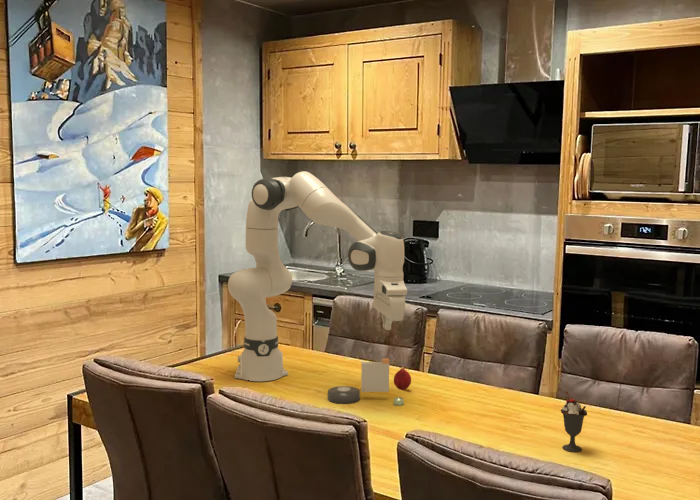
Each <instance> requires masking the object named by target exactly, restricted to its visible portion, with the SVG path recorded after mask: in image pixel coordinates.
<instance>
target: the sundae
mask: <svg viewBox="0 0 700 500" xmlns="http://www.w3.org/2000/svg"><path fill="white" fill-rule="evenodd" d="M565 394H566V395H567V397H568V398H567V399H566V400H565V404H564V405H563V407H562V408H561V409H560V412H561V414H562V417H563V424H564V425H563V426H564V431H565V432H566V433H567V434H568V436H569V437H570V439H569V443H568V444H563V446H562V449H563V450H564V451H566V452H570V453H580V452H582V451H583V448H582V447H581V446H579V445H577V444H576V437H577V436H578V435H580V434H581V432H582V429H583V423H584V418H585V416H588V411H587V410H586V407H587V406H586V405H585V406H583V407H582V404H580V402H579V401H577V400H575V399H574V398H572V396H571V394H569V391H565Z"/></svg>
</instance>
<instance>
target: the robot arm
mask: <svg viewBox="0 0 700 500" xmlns="http://www.w3.org/2000/svg"><path fill="white" fill-rule="evenodd" d="M297 208H300V210H301V211H302V212H303V213H304V215H306V216H307V217H308V218H309V219H310V220H311V221H313V222H314V223H316V224H317V225H320V226H326V227H327V226H328V227H331V228H332V227H333V228H337V229H341V230H344V231H345V232H347V233H349V235H351V236H352V237H353V238H354V239H355V240H356V242H355V241H354V242H353V243H352V244H351V245H350V246H349V248H348V250H347V259H348V260H347V261H348V263H349V265H350V266H351V267H352V269H354V270H355V271H358V272H367V271H373V272H374V286H373V289H374V290H373V301H372V305H373V308H374V309H375V310H376V311H378V312H379V313H380V314H381V318H382V328H383V329H384V330H386V331H390V330H392V324H393V322H402V321H403V320H404V316H405V310H406V309H405V308H406V296H407V294H408V288H407V286H406V284H405V281H404V271H403V269H404V267H403V266H404V264H405V242H404V238H403V236H402V235H401V234H400V233H398V232H395V231H391V230H380V231H379V232H377V230H375V229H374V228H373V227H372V226H371V225H370V224H368V222H366V221H365V220H364V219H363V218H362V217H361V216H360V215H358V214H357V213H356V212H355V211H353V209H351V208H350V207H349V206H348V205H346V204H345V203H344V202H343V201H341V199H339V198H338V197H337V196H336V195H335V194H334V193H333V192H332V191H331V189H329V188H328V187H327V186H326V184H324V183H323V182H322V181H321V180H320V179H319V178H318V177H316V176H315V175H314V174H312V173H311V172H309V171H299V172H296V173H295V174H294V175H293V176H292V177H289V176H277V177H264V178H261V179H259V180H257V181H256V182H255V183H254V184H253V186H252V189H251V198H250V200H249V202H248V207H247V212H246V218H245V250H246V251H247V253H248V254H249V255H251V256H253V258H254V260H255V265H256V266H255V267H250V268H243V269H240V270H237V271H236V272H234V273H233V272H232V273H231V275H230V276H229V278H228V280H227V281H228V282H227V290H228V292H229V294H230V296H231V297H232V298H233V299H234V300H236V302H238V303H239V305H240V307H241V309H242V313H243V316H244V318H243V319H244V328H245V329H244V333H245V336H244V339H243V351H242V352H241V354H240V355H238V356H237V363H240V364H238V365H237V368H236V371H235V373H234V379H237V378H238V379H239V380H245V381H248V380H249V381H250V382H269V381H275V380H278V379H280V378H282V377H284V376H288V375H289V372H288V370H287V369H285V368H284V362H283V361H284V358H283V356H284V355H283V354H284V353H283V352H282V351H281V350H280V349H279V336H278V327H277V326H278V319H277V317H278V316H277V314H276V313H275V312H274V311H273V310H272V309H270V308H269V307H268V304H267V301H266V300H267V299H266V298H272V297H277V296H280V295H282V294H284V293H286V292H287V291H289V290H290V289H291V286H292V285H293V284H292V283H293V282H292V281H293V277H292V274H291V272H290V270H289V269H288V268H287V267H286V266H285V265H284V264H283V261H282V260H281V257H280V252H279V240H278V239H279V236H278V235H279V215H280V213H281V212H282V211H291V210H294V209H297ZM238 379H237V380H238Z"/></svg>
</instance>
